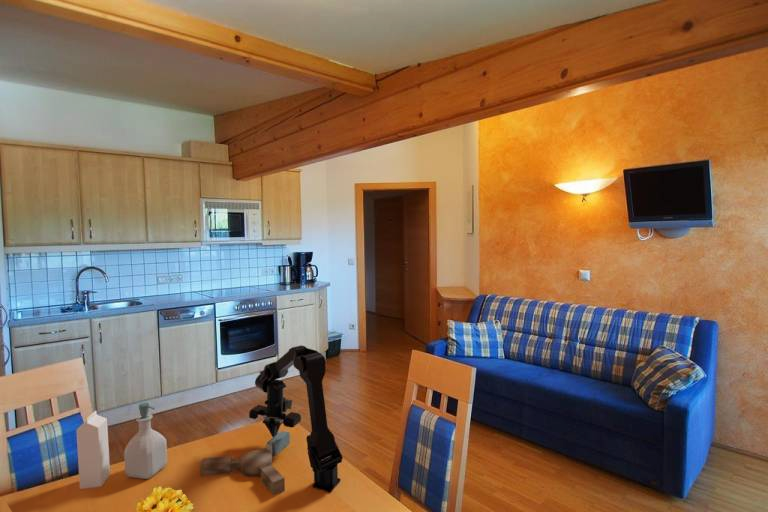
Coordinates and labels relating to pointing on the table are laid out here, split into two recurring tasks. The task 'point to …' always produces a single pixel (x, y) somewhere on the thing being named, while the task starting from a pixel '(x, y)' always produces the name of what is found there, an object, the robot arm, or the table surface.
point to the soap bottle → (145, 448)
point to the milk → (93, 452)
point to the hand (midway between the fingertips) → (274, 438)
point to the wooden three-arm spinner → (247, 468)
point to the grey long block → (278, 442)
